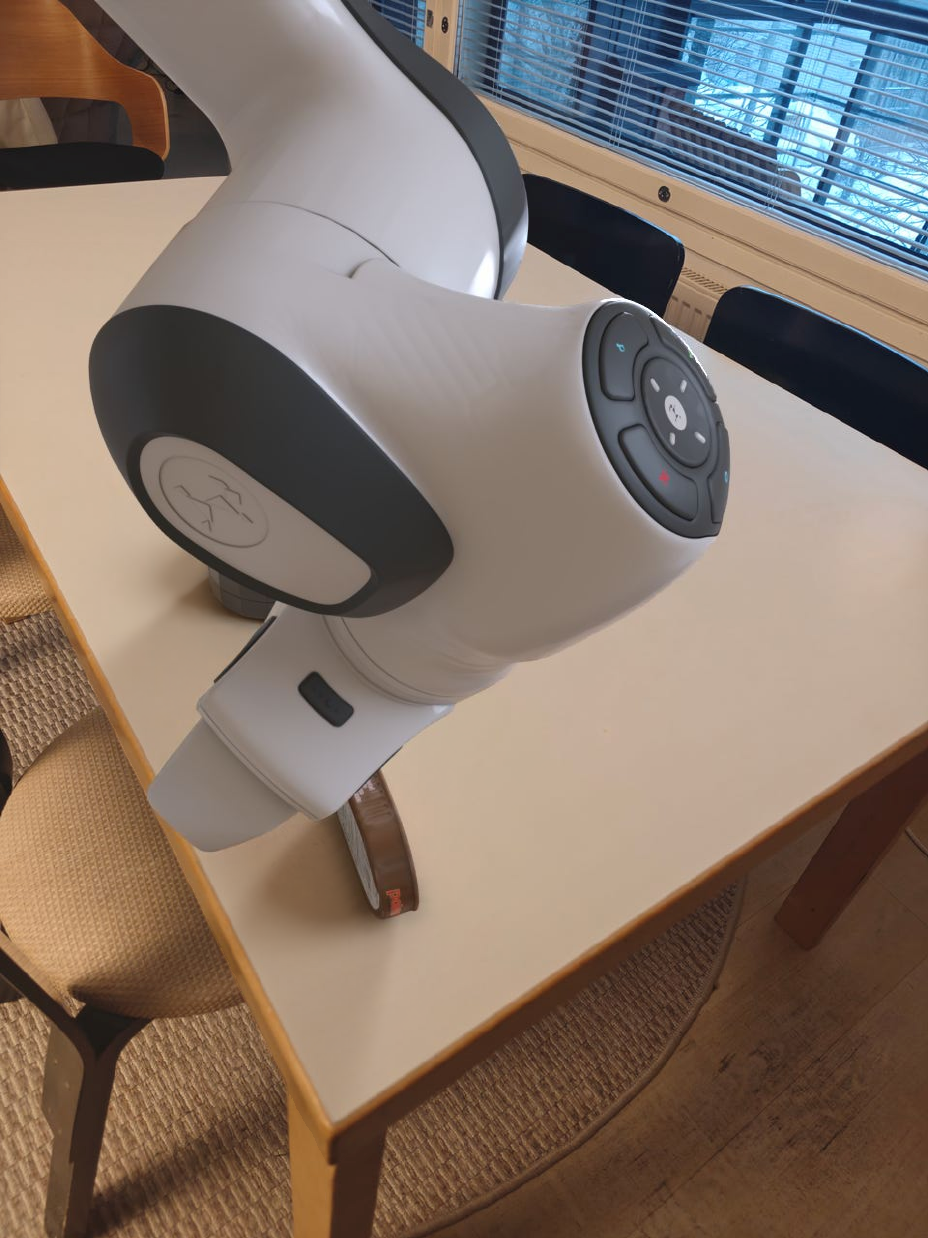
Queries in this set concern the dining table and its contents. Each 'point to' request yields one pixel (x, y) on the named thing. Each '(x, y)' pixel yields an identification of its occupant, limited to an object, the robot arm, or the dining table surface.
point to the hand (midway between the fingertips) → (277, 701)
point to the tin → (380, 849)
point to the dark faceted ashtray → (239, 597)
